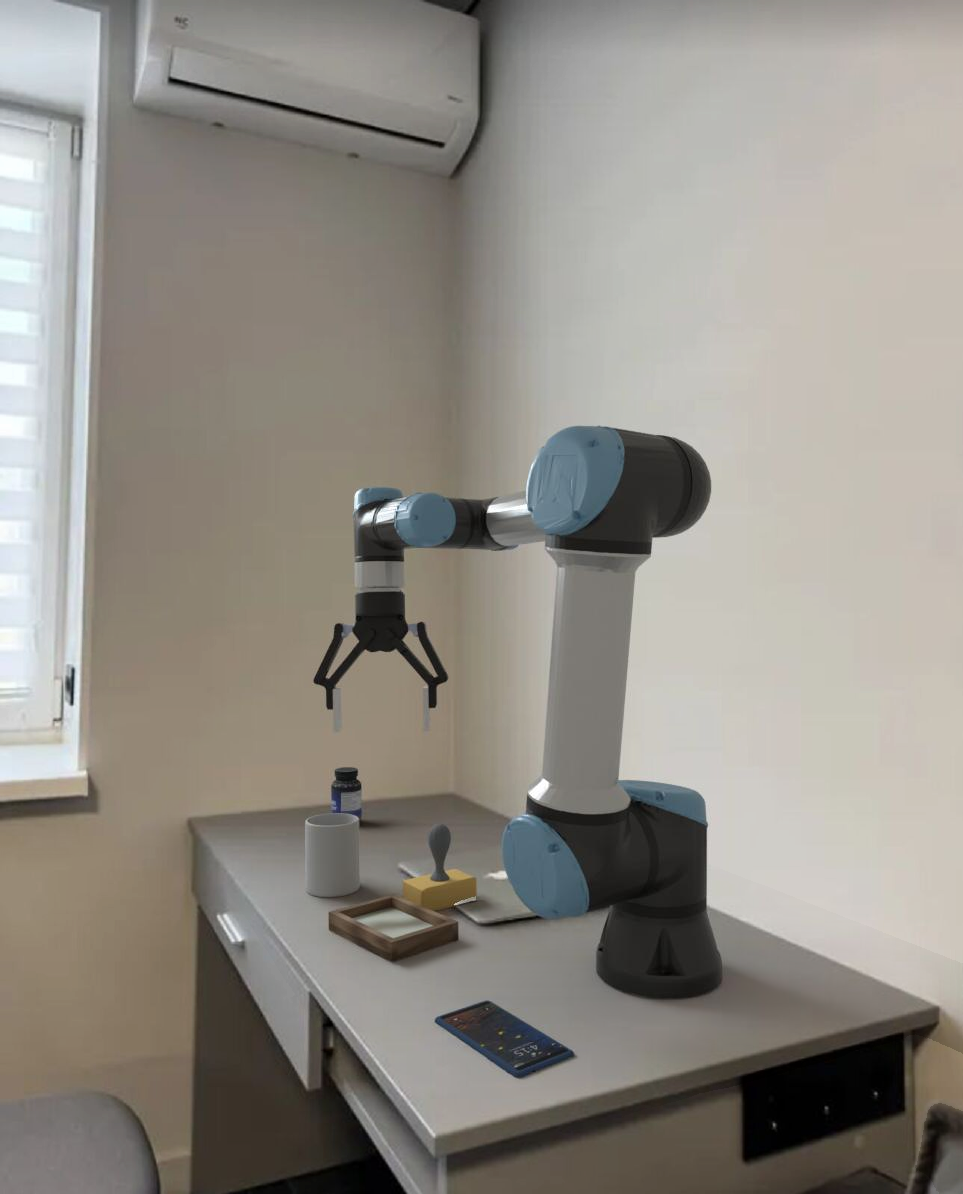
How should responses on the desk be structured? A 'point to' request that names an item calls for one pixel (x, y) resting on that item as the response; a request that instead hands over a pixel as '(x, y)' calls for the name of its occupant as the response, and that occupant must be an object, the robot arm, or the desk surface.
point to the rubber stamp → (440, 878)
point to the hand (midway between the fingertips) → (382, 730)
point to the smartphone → (504, 1038)
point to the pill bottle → (346, 792)
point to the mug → (332, 855)
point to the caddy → (393, 927)
